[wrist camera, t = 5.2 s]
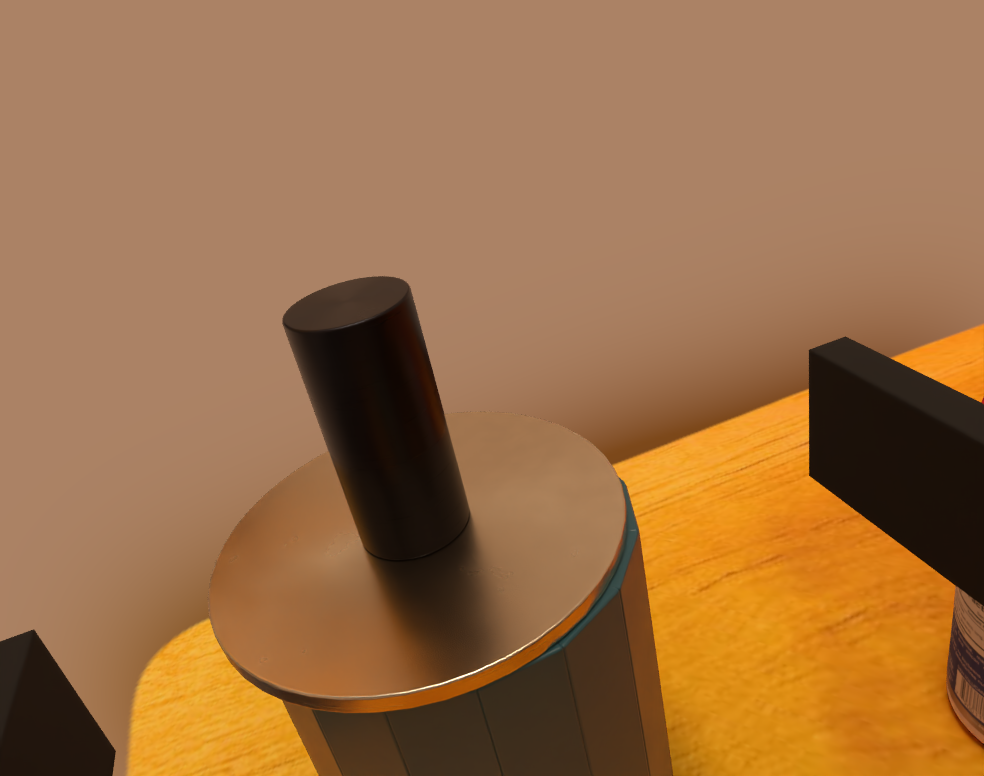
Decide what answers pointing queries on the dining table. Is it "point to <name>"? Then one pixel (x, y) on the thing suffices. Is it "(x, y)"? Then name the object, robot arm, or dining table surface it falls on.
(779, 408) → the dining table surface
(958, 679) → the pill bottle
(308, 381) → the lid
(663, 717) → the tin
